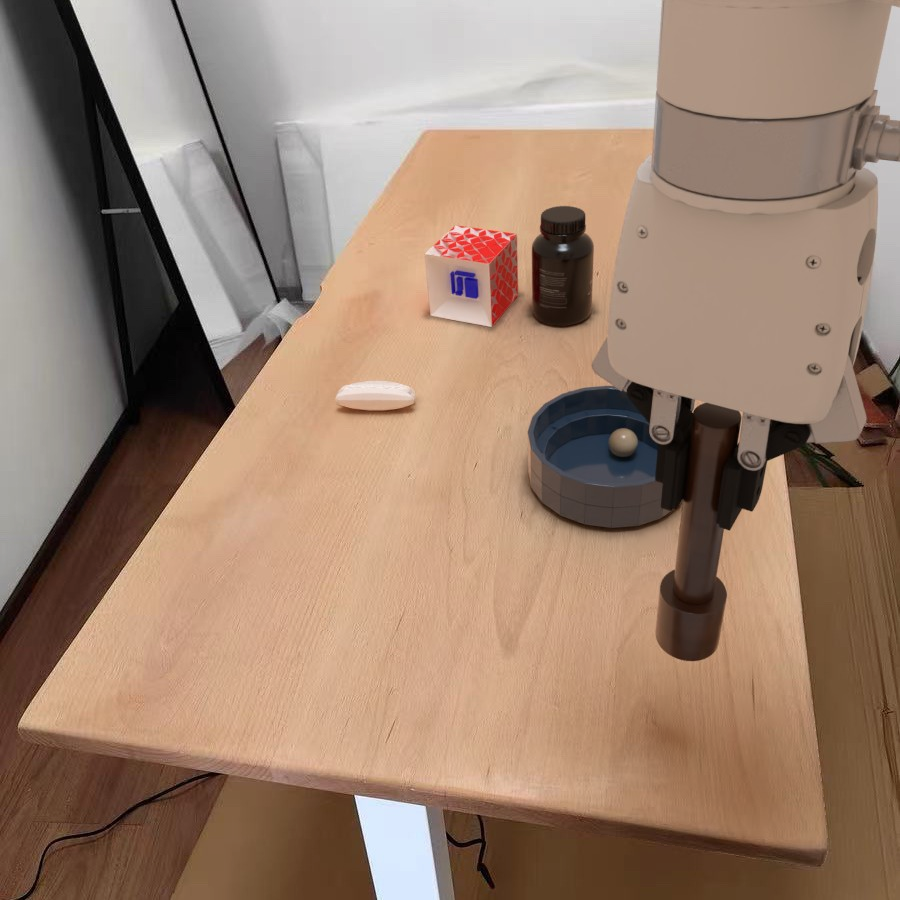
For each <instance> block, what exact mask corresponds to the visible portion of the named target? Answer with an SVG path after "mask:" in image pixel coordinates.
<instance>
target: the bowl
mask: <svg viewBox="0 0 900 900" xmlns="http://www.w3.org/2000/svg"><path fill="white" fill-rule="evenodd" d="M649 427H650V424H649V423H648V422H647V420H646V419H645V418H644V417H643V415H642V414H641V413H640V412H639V411H638V409H637V408H636V407H635V406H634V404H633V403H632V402H631V401H630V400H629V398H628V396H627V393H626V392H625V391H624V390H622V391H620V390H619V389H617V388H616V387H614V386H613V385H600V386H587V387H581V388H577V389H574V390H571V391H567V392H564V393H561V394H559V395H557V396H555V397H554V398H552V399H550V400H548V401H546V402H545V403H543V404H542V406H540V408H539V409H538V410H536V412H535V413H534V414H533V415H532V417H531V419H530V423H529V426H528V429H527V474H528V478H529V484H530V488H531V489H532V491H533V492H534V494H535V495H536V496H537V498H538V499H539V501H540V502H541V503H542V504H543V505H545V506H546V507H547V508H549V509H551V511H554V512H555V513H556V514H557V515H559V516H561V517H562V518H566V519H569V520H570V521H571V520H572V521H573V522H577V523H579V524H583V525H586V526H594V527H602V528H610V529H613V528H614V529H615V528H626V527H639V526H642V525H645V524H648V523H651V522H654V521H657V520H660V519H663V518H664V517H665V516H667V515H668V514H669V513H671V512H672V511H675V510H674V509H673V510H672V511H669V510H666V509H663V508H661V497H662V486H663V483H660V482H657V481H655V473H656V461H657V449H658V443H657V442H655V441H654V440H653V439H652V438H651V436H650V434H649ZM621 428H626V429H629V430H631V431H632V432H634V433H635V435H636V436H637V439H638V446H637V449H636V451H635V452H634V453H633V454H632V455H630V456H628V457H619V456H616V455H615V454H613V453H612V451H611V450H610V448H609V438H610V436H611V434H612V433H613V432H614V431H615V430H617V429H621ZM681 503H683V500H682V501H681ZM681 503H680V504H679V506H681Z"/></svg>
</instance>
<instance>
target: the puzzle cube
mask: <svg viewBox="0 0 900 900" xmlns="http://www.w3.org/2000/svg"><path fill="white" fill-rule="evenodd" d="M518 257H519V256H518V234H517V233H513V232H507V231H499V230H492V229H485V228H479V227H471V226H464V225H457V224H455V225H454V226H453V227H451V229H449V230H448V231H447V232H446V233H445V234H444V235H443V236H442V237H441V238H440V239H439V240H438V241H436V243H434V245H432V246H431V247H430V248H429V249H428V250H427V251H426V252H425V253H424V263H425V272H426V284H427V295H428V306H429V315H430V317H435V318H440V319H446V320H453V321H456V322H462V323H468V324H473V325H477V326H478V325H479V326H483V327H489V328H493V327H494V326H495V324H496V323H497V322H498V321H499V319H500V318H501V317H502V316H503V315H504V314H505V312H507V310H508V309H509V307H510V306H511V305H512V304H513V303H514V302H515V300H516V299H517V298H518V297H519V268H518V267H519V264H518V263H519V261H518V260H519V259H518Z"/></svg>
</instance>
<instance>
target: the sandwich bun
mask: <svg viewBox="0 0 900 900" xmlns="http://www.w3.org/2000/svg"><path fill="white" fill-rule="evenodd" d="M415 396H416V392H415V389H413V388H412V387H411V386H408V385H406V384H404V383H403V384H402V383H400V382H394V381H389V380H366V381H359V382H353V383H350V384H345V385H343V386H342V387H341V388H340V389H339V390H338V391H337V393H336V396H335V398H334V400H335V403H336V404H337V405H339V406H342V407H346V408H349V409H351V410H352V409H353V410H360V411H361V410H362V411H368V412H369V411H373V412H374V411H376V412H378V411H379V412H380V411H391V410H392V411H393V410H397V409H403V408H406V407H408V406H412V405H413V404H415Z"/></svg>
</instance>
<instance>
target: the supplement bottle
mask: <svg viewBox="0 0 900 900" xmlns="http://www.w3.org/2000/svg"><path fill="white" fill-rule="evenodd" d="M586 230H587V224H586V212H585V211H584V210H583V209H581V208H579V207H577V206H571V205H559V206H558V205H557V206H552V207H549V208H546V209H545V210H543V211H542V212H541V214H540V224H539V232H540V234H539V235H537V236H536V237H535V238H534V240H533V242H532V245H531V300H532V301H531V305H532V306H531V309H532V313H533V316H534V318H536V319H537V320H538V321H539V322H542V323H543V324H546V325H551V326H555V327H556V326H557V327H564V326H567V327H568V326H573V325H577V324H579V323H581V322H583V321H585V320H586V319H588V317H589V316H590V314H591V313H592V306H593V287H594V286H593V285H594V284H593V280H594V259H595V257H594V255H595V245H594V241H593V239H592V238H591V236H590V235H589V234H587V233H586Z"/></svg>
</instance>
